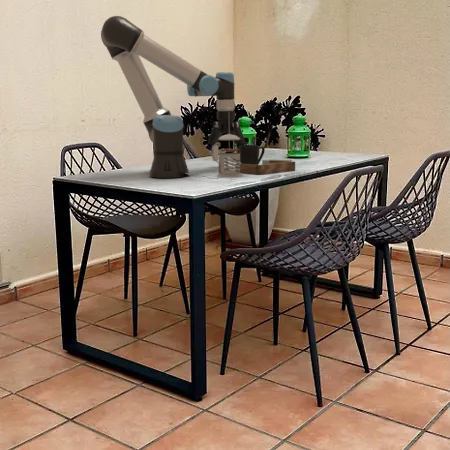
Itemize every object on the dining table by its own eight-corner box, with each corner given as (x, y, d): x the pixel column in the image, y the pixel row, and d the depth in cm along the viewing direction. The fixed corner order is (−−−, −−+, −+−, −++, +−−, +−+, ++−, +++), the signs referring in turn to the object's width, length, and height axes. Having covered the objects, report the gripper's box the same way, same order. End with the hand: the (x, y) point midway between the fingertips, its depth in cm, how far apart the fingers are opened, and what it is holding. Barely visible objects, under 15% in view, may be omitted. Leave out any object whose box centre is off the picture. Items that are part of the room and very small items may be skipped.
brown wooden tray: (258, 174, 238) (258, 165, 238) (235, 172, 247) (235, 163, 247) (295, 170, 253) (295, 161, 252) (271, 168, 262) (271, 160, 261)
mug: (269, 169, 261) (270, 146, 258) (246, 171, 254) (247, 147, 251) (257, 167, 267) (258, 144, 265) (234, 168, 260) (235, 145, 258)
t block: (286, 168, 264) (286, 160, 263) (262, 167, 269) (262, 160, 268) (293, 166, 271) (293, 159, 270) (269, 165, 276) (269, 158, 275)
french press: (246, 176, 234) (245, 107, 229) (215, 177, 231) (214, 107, 226) (238, 173, 243) (237, 107, 238) (208, 175, 240) (207, 107, 235)
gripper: (253, 109, 258) (254, 162, 262) (211, 110, 276) (213, 159, 280) (240, 110, 253) (241, 163, 257) (199, 110, 271) (200, 160, 275)
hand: (226, 161), depth 269 cm, fingers open, 13 cm apart
